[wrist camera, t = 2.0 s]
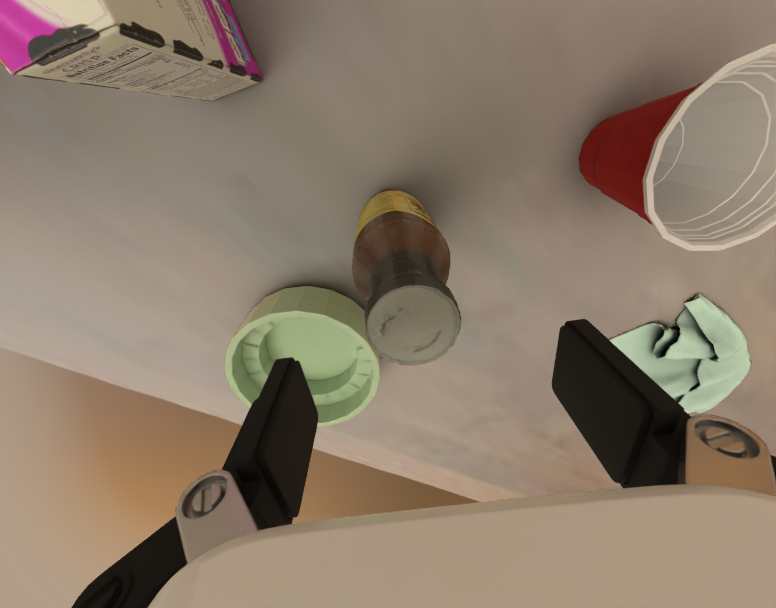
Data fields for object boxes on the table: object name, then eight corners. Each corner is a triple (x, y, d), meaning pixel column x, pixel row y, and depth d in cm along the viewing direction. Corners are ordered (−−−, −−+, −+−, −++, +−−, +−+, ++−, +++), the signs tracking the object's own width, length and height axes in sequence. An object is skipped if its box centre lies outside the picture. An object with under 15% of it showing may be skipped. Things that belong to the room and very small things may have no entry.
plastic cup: (690, 60, 25) (915, 11, 15) (659, 197, 30) (809, 233, 20) (553, 91, 26) (675, 65, 15) (546, 220, 31) (634, 266, 21)
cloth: (710, 416, 46) (726, 429, 44) (567, 417, 45) (576, 431, 43) (803, 293, 36) (829, 304, 34) (622, 292, 35) (638, 302, 33)
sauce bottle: (428, 242, 32) (494, 380, 14) (368, 256, 32) (362, 405, 15) (417, 176, 29) (485, 249, 11) (351, 192, 29) (318, 287, 12)
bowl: (246, 381, 40) (227, 419, 34) (246, 271, 32) (221, 298, 27) (366, 396, 42) (365, 434, 37) (390, 296, 35) (393, 325, 29)
